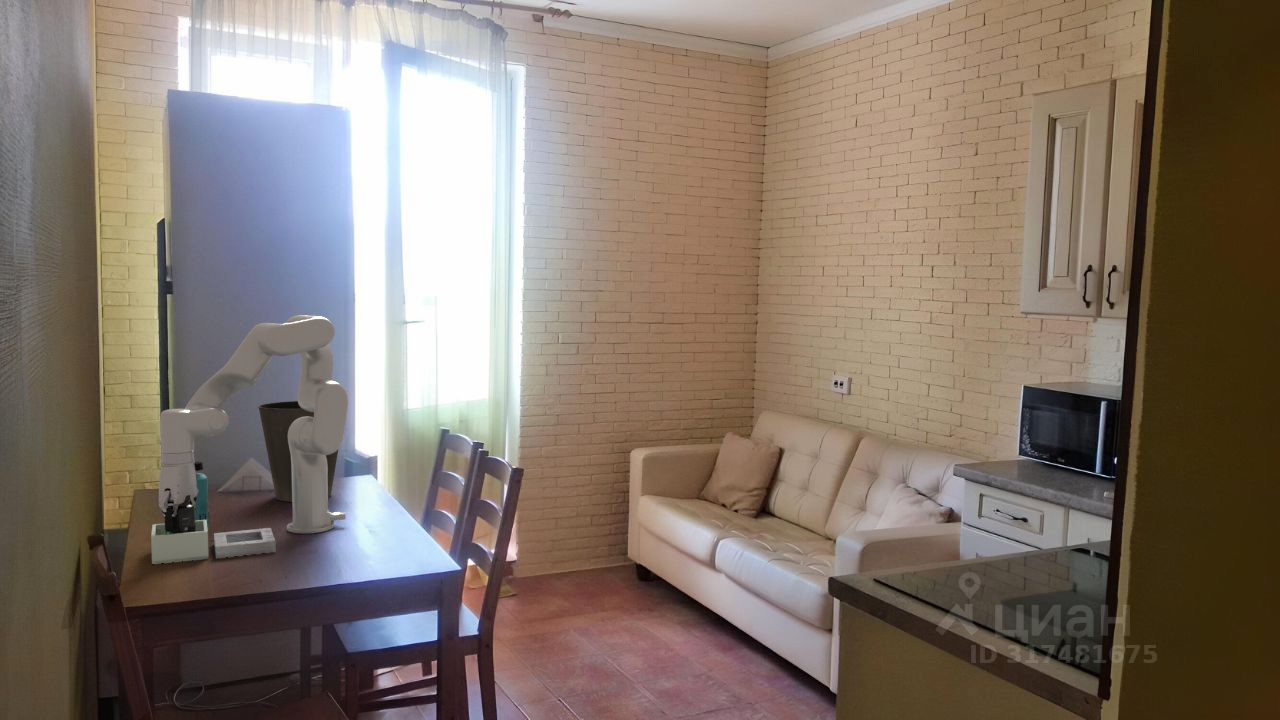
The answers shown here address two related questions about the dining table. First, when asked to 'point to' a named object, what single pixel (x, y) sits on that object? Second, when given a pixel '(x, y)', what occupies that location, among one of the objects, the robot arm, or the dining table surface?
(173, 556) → the bin
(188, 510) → the supplement bottle
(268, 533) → the socket block
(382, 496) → the dining table surface
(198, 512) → the beverage bottle
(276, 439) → the waste basket
